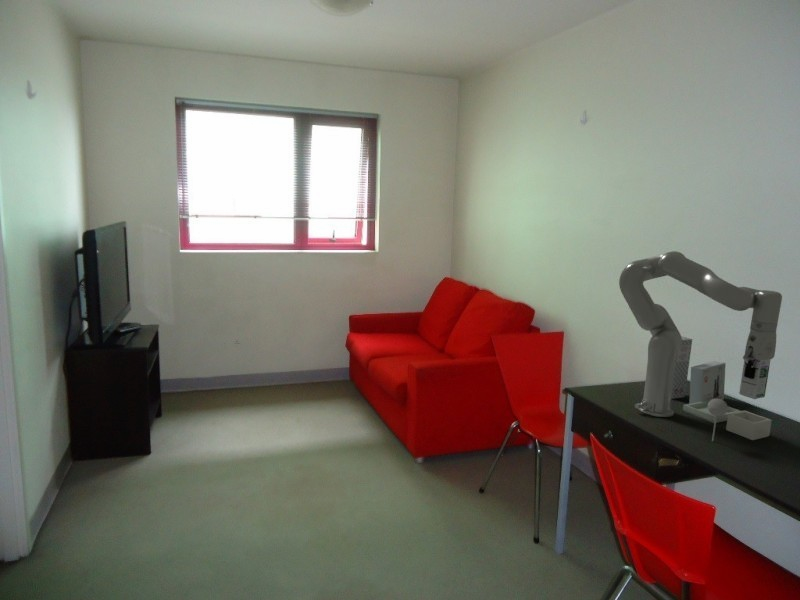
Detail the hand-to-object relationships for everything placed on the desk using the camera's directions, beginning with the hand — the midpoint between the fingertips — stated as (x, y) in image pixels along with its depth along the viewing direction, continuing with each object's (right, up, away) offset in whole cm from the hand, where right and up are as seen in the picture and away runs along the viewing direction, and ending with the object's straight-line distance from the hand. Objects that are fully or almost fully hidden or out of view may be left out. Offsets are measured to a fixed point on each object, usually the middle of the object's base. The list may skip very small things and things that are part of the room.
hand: (754, 376), depth 192 cm
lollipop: (-18, -21, -5) cm, 28 cm away
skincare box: (+3, -16, +35) cm, 38 cm away
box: (-10, -14, +42) cm, 45 cm away
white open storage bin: (0, -20, +3) cm, 21 cm away
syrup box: (0, -7, +1) cm, 7 cm away
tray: (-3, -17, +20) cm, 27 cm away
